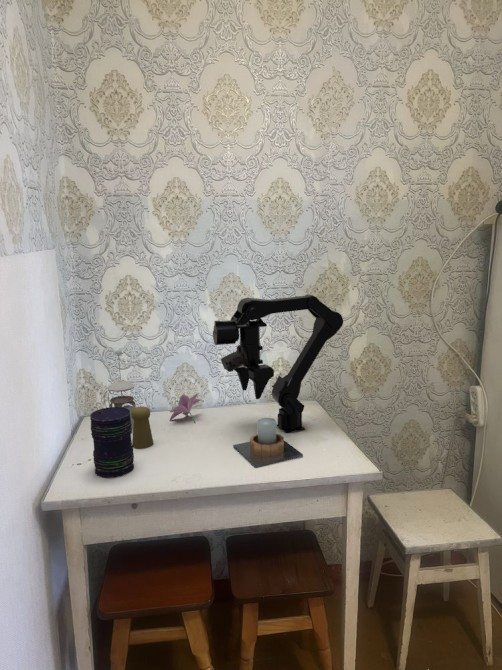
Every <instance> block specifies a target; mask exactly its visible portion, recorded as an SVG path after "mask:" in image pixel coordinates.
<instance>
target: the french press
mask: <svg viewBox="0 0 502 670" xmlns="http://www.w3.org/2000/svg"><path fill="white" fill-rule="evenodd" d="M114 354H115V356H118V358H117V359H118V360H120V355H122V351H121V349H118V350H117V349H116V350H115V353H114ZM120 364H121V363H120V361H118V368H119V369H118V370H119V371H118V372H119V373H121V365H120ZM135 386H136V385H135V384H134V383H133V382H131V381H127V380H122V378H121V374H119V380H118V381H114V382H112V383H111V384H109V385H108V386H107V387H106V389H107V390H106V392H104V395H103V403H104V406H105V408H109V407H123V408H127V409H129V410H130V417H131V424H132V425H131V428H132V433H131V435H133V424H134V420H133V418H132V416H131V413H132V410H133V409H134V408H136V401H134V399H135V397H133V396H132V395H123V392H127V391H131V390H133V389H134V388H135ZM117 392H120V395H119V396H118V395H117V396H114V397H111V398H110V395H114V393H117ZM106 395H107V401H108V404H109V405H108V407H107V405H106V399H105V398H106ZM126 404H127V405H126ZM129 404H130V405H129ZM113 405H114V406H113Z"/></svg>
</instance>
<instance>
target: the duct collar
mask: <svg viewBox="0 0 502 670" xmlns="http://www.w3.org/2000/svg"><path fill="white" fill-rule="evenodd" d="M284 438H285V437H284V436H283V435H281V434H279V433H276V443H275V444H271V445H262V444H259V443H258V433H255V434H253V435H251V436H250V438H249V441H245V442H242V443H236V444H235V443H234V444H233V445H232V446H233V447H232V448H233V449H234V450H235V451H236V452H237V453H238V452H239V453H238V454H240V456H242V458H244V459H245V460H246V461H247V462H248V463H249V464H250V465H251V466H252V467H254V469H256V468H261V467H265V466H270V465H273V464H279V463H283V462H286V461H291V460H295V459H299V458H303V457H304V454H303V453H302V452H301V451H299V450H298V449H297V448H295V447H294V446H293V445H291V444H290V443H288V442H287V441H286V440H285V439H284Z"/></svg>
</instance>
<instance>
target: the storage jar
mask: <svg viewBox="0 0 502 670" xmlns="http://www.w3.org/2000/svg"><path fill="white" fill-rule="evenodd" d="M89 417H90V432H91V433H90V434H91V438H92V439H93V440H92V441H93V453H92V456H93V464H94V473H95V475H96V476H97V477H98V478H104V479H114V478H120V477H123V476H126V475H128V474H131V472H133V470H134V469H135V464H134V462H135V461H134V459H135V456H134V455H135V453H134V448H133V446H132V434H133V433H132V428H131V425H132V424H131V417H130V410H129V409H127V408H123V406H122V407H114V406H112V407H109V406H108V407H107V408H106V407H104V408H100V409H97V410H95V411H93V412H91V413H90V415H89ZM131 433H132V434H131Z"/></svg>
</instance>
